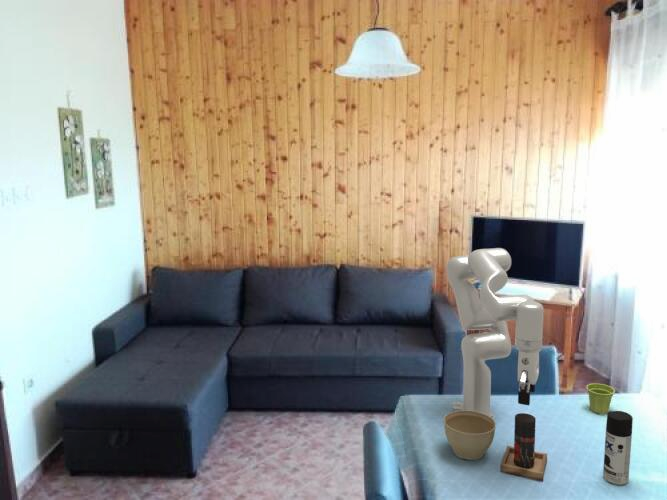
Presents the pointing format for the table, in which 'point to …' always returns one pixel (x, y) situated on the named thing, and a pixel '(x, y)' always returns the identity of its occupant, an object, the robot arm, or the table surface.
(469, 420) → the planter bowl
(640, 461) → the table surface
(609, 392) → the plant pot
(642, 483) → the table surface
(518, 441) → the deodorant
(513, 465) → the tray
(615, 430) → the spray can
